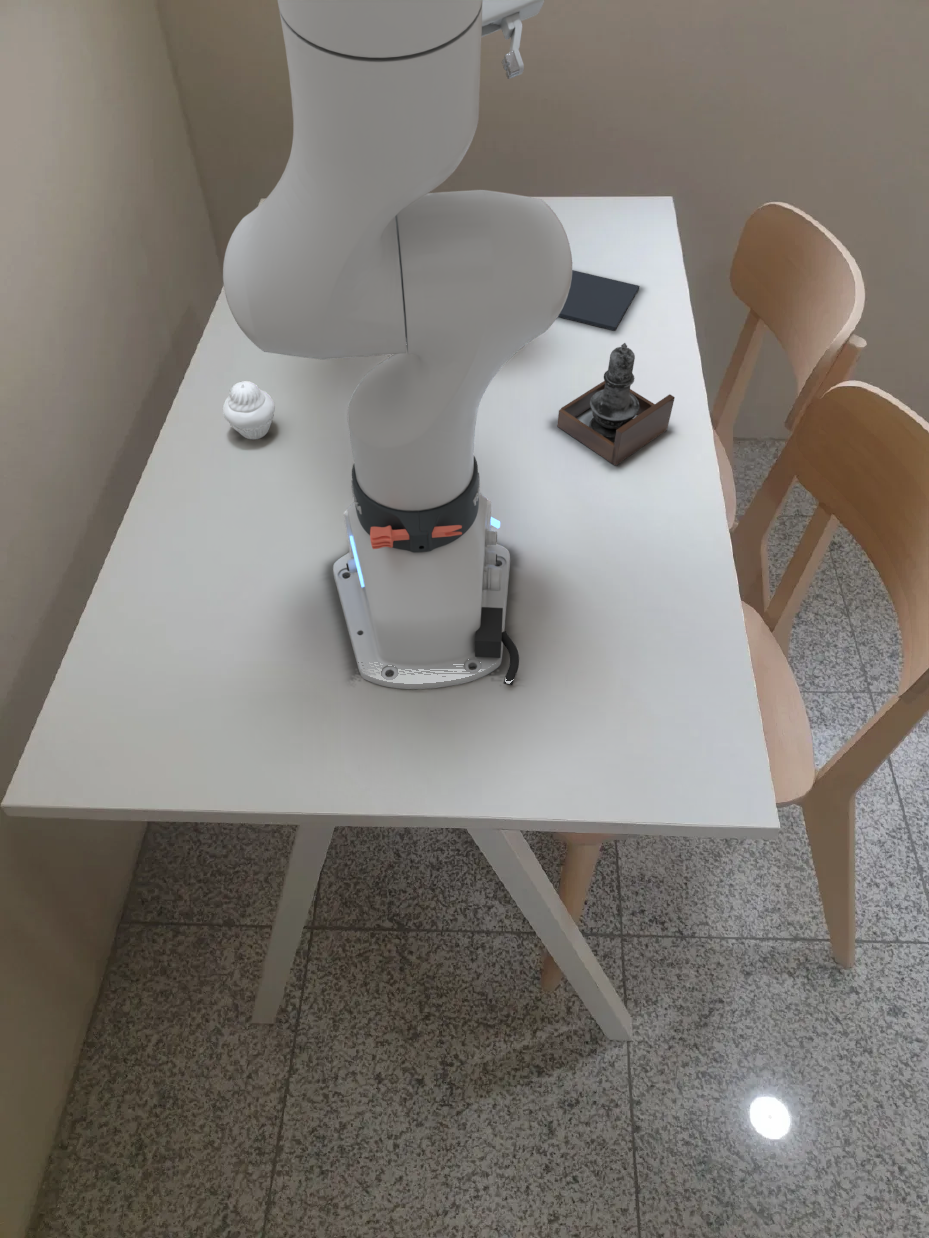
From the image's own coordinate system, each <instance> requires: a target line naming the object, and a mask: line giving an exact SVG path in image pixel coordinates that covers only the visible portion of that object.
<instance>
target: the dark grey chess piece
mask: <svg viewBox="0 0 929 1238" xmlns="http://www.w3.org/2000/svg"><path fill="white" fill-rule="evenodd" d="M635 361H636V355H635V353H634V351H633V350H632V349H631V348H629V347H628V345H627V343H626V342H624V343H623V344H621V345H620V346H618V347H615V348H614V349H613V350H612V351H611V353H610V355H609V361H608V367H607V370H606V371H605V372H604V374H603V381H605V388H604V390H601V391H598V392H597V393H595V394H594V395H593V396H592V398H591V400H590V407H591V408H590V410H591V413H592V416H593V417H592V418H591V419H590V420H589V425H588V426H589V427H590V428H592V429H593V430H595V431H596V432H598V433H599V434H601V435H602V436H604V437H605V438H607V439H608V440H610V441H611V442H613V443H614V442H615V436H616V430H617V429H619V428H620V427H622V426H623V425H625V424H626V423H628V422H629V421H631V420H632V419H634V418H635V417H636V415H637V412H638V411H639V401H638V400H637V398H636V397H635V396H634V395H632V394H631V393H629V392H630V389H631V387H632V386H633V384H634V382H635V378H636V377H635V375H634V374H633V370H634V365H635Z"/></svg>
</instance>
